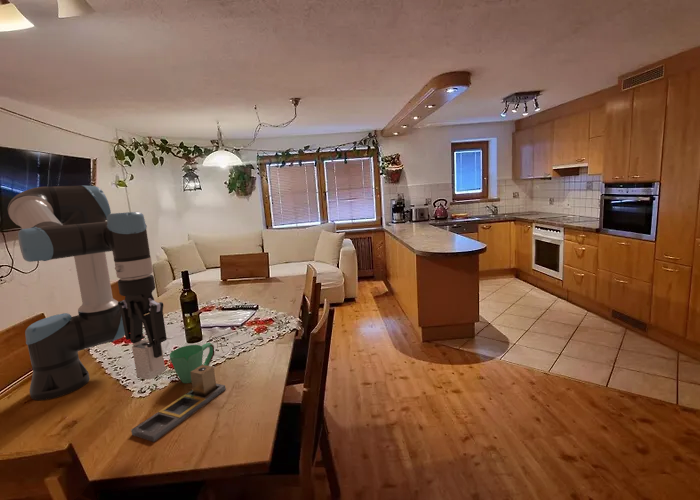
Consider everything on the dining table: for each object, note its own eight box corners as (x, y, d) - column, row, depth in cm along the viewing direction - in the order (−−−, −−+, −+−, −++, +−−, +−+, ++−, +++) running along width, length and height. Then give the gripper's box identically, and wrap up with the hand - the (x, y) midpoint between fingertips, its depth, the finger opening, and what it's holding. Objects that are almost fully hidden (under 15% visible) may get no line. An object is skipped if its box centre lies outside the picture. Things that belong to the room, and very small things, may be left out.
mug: (186, 391, 108) (181, 360, 107) (167, 384, 113) (162, 354, 112) (225, 369, 120) (221, 341, 119) (206, 364, 125) (202, 337, 124)
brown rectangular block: (193, 397, 104) (190, 371, 102) (205, 389, 108) (202, 364, 106) (205, 400, 102) (201, 373, 100) (217, 391, 106) (213, 366, 105)
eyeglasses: (207, 348, 140) (205, 336, 140) (237, 335, 152) (236, 324, 152) (232, 356, 131) (231, 343, 130) (263, 341, 143) (262, 329, 143)
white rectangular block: (137, 376, 88) (131, 346, 86) (153, 368, 92) (148, 338, 90) (149, 379, 86) (144, 348, 85) (165, 371, 90) (160, 340, 89)
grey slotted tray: (132, 436, 88) (131, 429, 88) (206, 386, 110) (205, 381, 110) (154, 443, 85) (153, 436, 85) (225, 390, 107) (225, 385, 106)
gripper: (96, 279, 85) (113, 369, 89) (145, 282, 78) (161, 380, 82) (127, 272, 92) (141, 356, 96) (174, 274, 85) (188, 365, 88)
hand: (150, 367), depth 89 cm, fingers closed on white rectangular block, 4 cm apart
